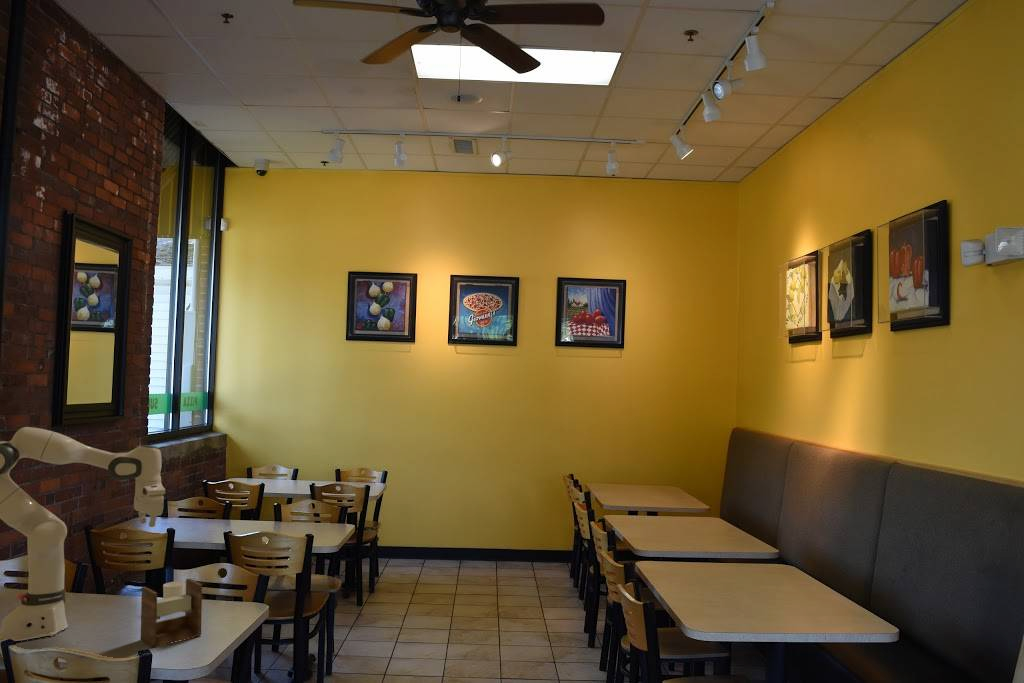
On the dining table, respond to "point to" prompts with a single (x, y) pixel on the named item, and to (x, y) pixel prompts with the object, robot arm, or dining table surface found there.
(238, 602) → the dining table surface
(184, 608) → the cream rectangular block
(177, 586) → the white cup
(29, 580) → the robot arm
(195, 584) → the wooden napkin holder
